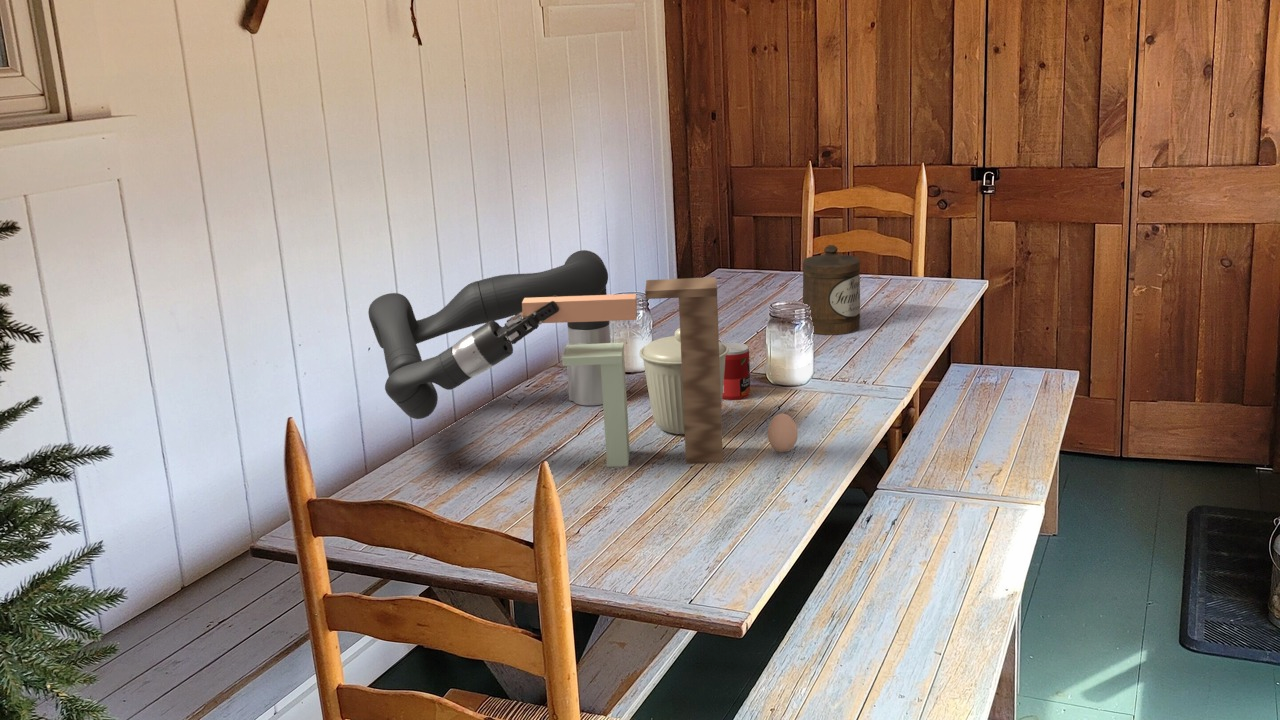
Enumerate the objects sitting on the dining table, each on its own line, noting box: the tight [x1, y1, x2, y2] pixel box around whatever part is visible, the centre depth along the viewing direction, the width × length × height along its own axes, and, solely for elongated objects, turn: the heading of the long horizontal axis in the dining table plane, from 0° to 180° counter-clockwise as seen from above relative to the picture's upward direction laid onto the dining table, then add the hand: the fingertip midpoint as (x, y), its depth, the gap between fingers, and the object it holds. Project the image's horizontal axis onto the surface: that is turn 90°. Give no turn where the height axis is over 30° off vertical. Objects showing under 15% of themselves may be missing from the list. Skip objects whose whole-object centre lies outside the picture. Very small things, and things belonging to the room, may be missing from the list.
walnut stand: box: [644, 276, 724, 465], centre depth 227 cm, size 13×9×34 cm
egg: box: [767, 413, 799, 453], centre depth 231 cm, size 6×6×8 cm
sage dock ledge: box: [561, 342, 631, 468], centre depth 230 cm, size 11×9×22 cm
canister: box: [638, 327, 729, 435], centre depth 245 cm, size 18×18×21 cm
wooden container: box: [802, 244, 861, 336], centre depth 313 cm, size 15×15×22 cm
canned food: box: [722, 342, 751, 401], centre depth 265 cm, size 8×8×11 cm
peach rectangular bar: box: [522, 293, 638, 324], centre depth 224 cm, size 21×4×4 cm, turn 88°
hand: (557, 302), depth 224 cm, fingers closed on peach rectangular bar, 4 cm apart
